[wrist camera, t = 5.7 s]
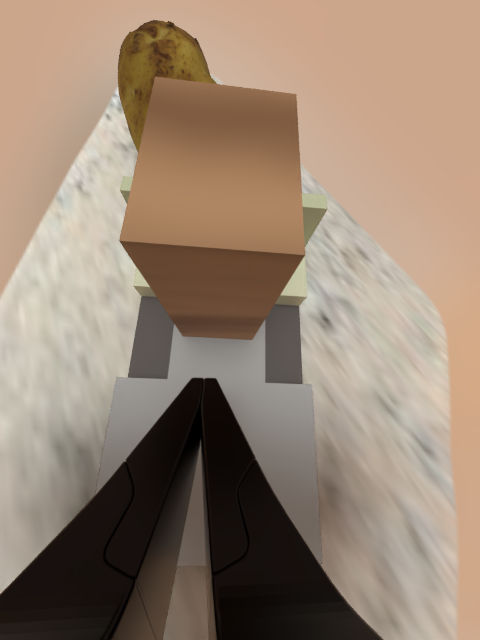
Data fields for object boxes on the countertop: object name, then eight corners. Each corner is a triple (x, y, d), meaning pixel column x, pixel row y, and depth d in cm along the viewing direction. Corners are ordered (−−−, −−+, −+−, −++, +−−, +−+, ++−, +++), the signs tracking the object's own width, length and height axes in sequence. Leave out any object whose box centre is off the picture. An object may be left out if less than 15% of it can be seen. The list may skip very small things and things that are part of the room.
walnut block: (252, 339, 15) (305, 255, 6) (182, 336, 15) (118, 240, 6) (253, 259, 17) (296, 93, 8) (191, 254, 17) (155, 76, 7)
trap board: (308, 540, 14) (368, 642, 8) (101, 542, 13) (11, 656, 8) (295, 251, 20) (326, 195, 14) (151, 240, 19) (123, 176, 13)
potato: (136, 239, 19) (82, 138, 12) (141, 126, 23) (102, -8, 15) (238, 236, 20) (249, 141, 12) (226, 128, 24) (229, 3, 16)
